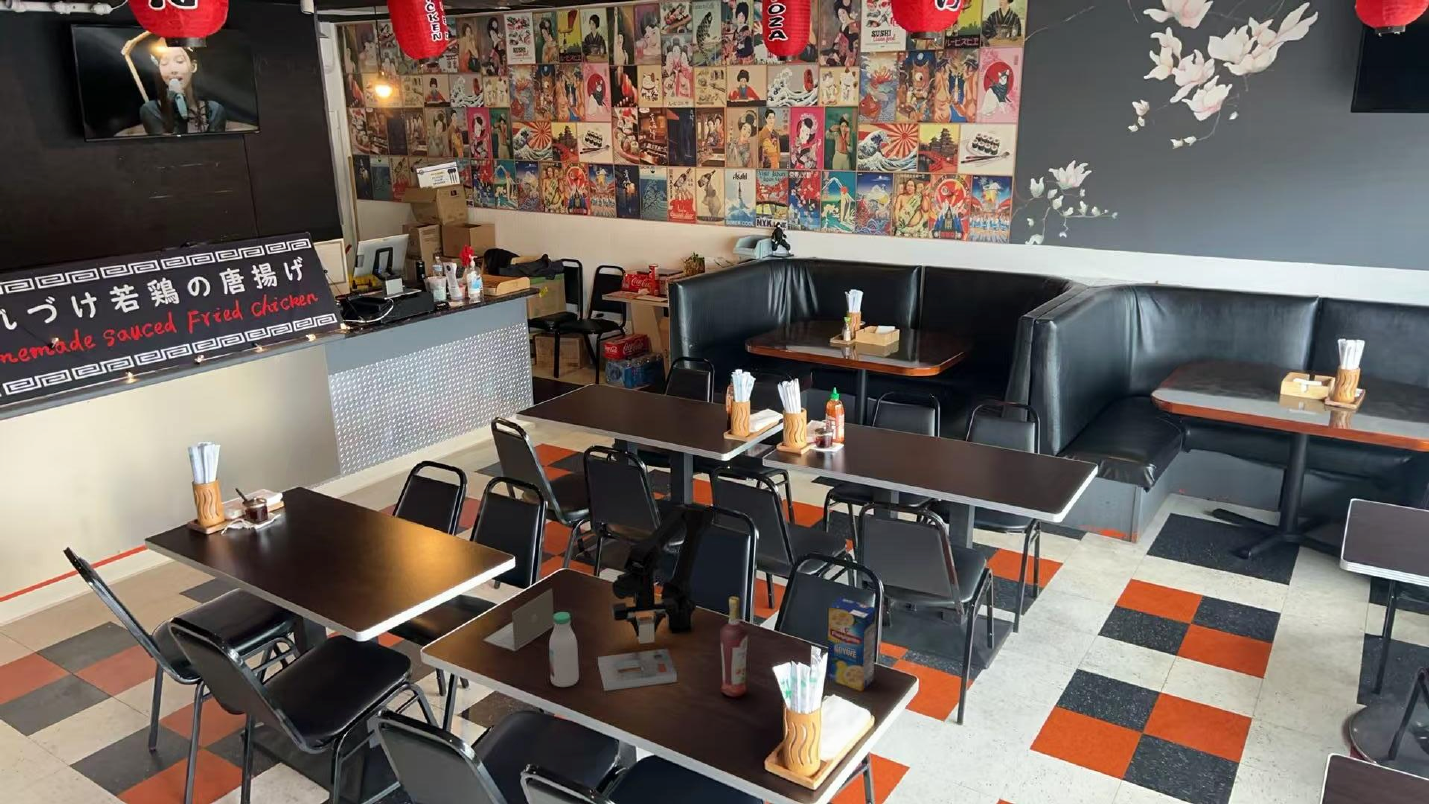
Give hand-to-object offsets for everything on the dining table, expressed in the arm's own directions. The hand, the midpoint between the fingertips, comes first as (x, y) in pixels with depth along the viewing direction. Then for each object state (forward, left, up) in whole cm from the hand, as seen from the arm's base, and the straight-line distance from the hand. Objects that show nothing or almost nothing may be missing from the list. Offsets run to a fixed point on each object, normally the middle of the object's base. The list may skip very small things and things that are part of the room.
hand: (645, 635), depth 297 cm
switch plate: (+5, +14, -4) cm, 15 cm away
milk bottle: (+25, +13, -4) cm, 28 cm away
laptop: (+36, -17, -4) cm, 40 cm away
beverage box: (-52, +31, -4) cm, 61 cm away
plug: (0, 0, -1) cm, 1 cm away
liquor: (-19, +30, -4) cm, 36 cm away
